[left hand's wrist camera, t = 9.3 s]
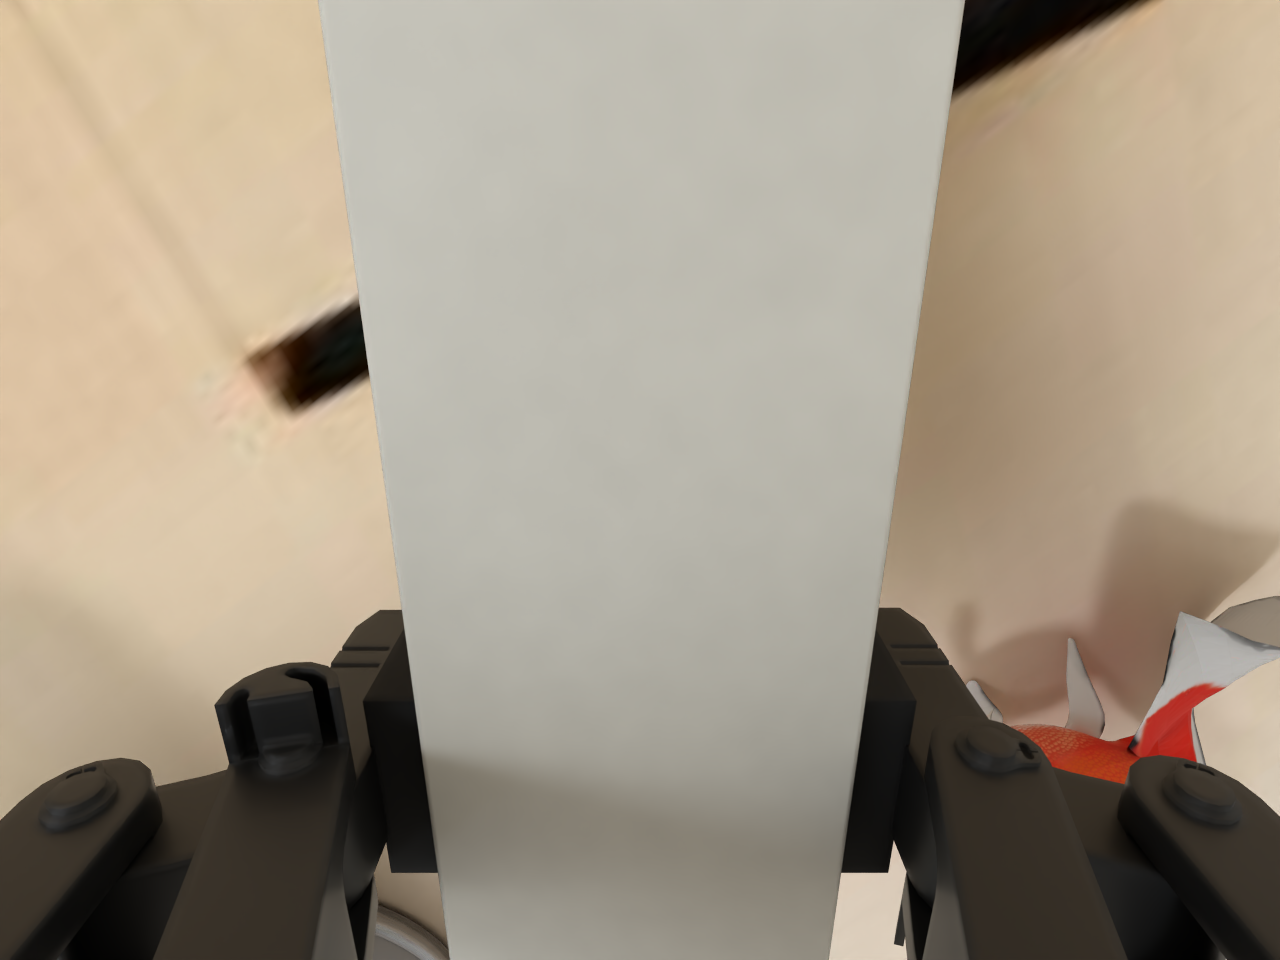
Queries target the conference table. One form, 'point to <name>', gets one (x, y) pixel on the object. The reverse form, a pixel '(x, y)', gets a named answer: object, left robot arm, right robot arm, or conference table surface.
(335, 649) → the conference table surface
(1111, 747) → the fish
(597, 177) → the plank
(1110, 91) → the conference table surface
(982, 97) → the conference table surface
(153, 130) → the conference table surface
